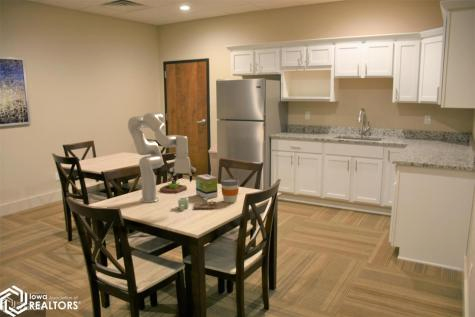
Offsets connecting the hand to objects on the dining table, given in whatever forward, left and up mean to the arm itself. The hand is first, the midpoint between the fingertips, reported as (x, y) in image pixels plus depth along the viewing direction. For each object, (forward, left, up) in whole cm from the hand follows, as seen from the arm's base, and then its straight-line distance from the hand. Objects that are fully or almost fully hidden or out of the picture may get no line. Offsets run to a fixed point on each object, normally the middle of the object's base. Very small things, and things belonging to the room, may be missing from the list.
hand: (183, 181), depth 244 cm
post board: (-5, +13, -18) cm, 23 cm away
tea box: (-32, +13, -19) cm, 39 cm away
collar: (0, -1, -18) cm, 18 cm away
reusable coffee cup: (-17, +30, -19) cm, 39 cm away
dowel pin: (-2, +18, -17) cm, 25 cm away
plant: (-51, -14, -19) cm, 56 cm away
